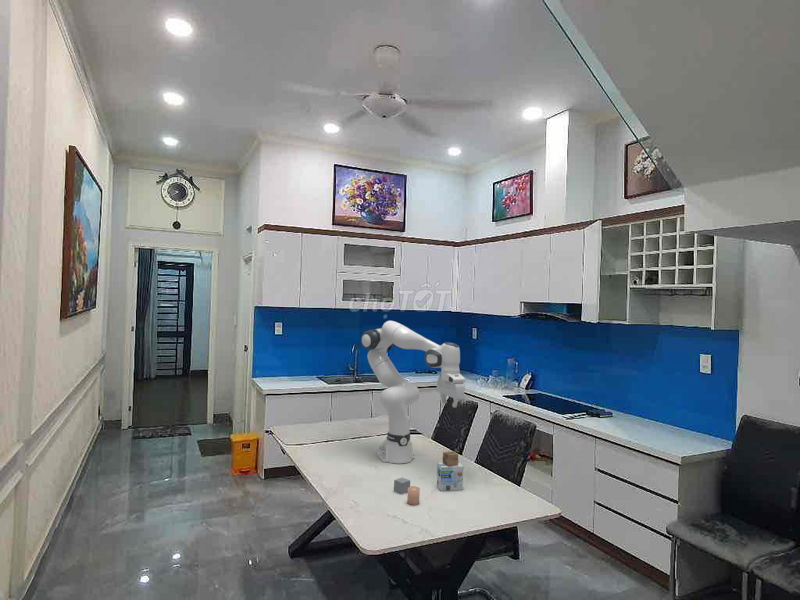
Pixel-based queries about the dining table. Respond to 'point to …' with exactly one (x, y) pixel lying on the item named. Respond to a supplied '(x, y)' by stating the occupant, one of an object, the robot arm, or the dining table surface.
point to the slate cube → (401, 485)
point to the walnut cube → (450, 458)
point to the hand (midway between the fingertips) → (449, 405)
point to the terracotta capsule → (413, 495)
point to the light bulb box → (449, 477)
